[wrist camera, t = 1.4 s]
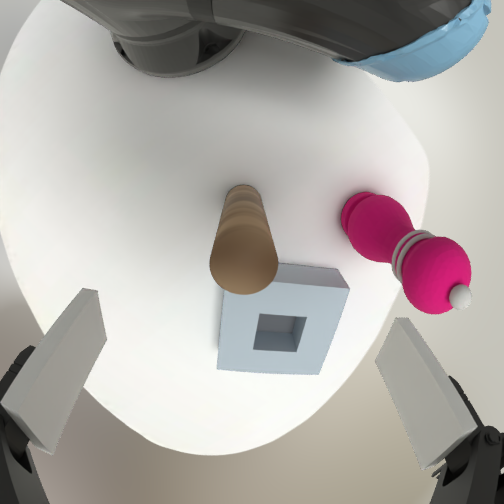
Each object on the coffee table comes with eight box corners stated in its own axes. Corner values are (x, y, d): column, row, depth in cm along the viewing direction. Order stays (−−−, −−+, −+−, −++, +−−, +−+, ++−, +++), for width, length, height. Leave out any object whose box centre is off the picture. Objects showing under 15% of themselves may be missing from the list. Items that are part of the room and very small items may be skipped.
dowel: (227, 182, 31) (212, 228, 16) (263, 186, 31) (283, 237, 16) (223, 216, 33) (207, 291, 17) (258, 220, 33) (272, 297, 18)
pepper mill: (398, 206, 33) (511, 278, 14) (369, 253, 35) (457, 354, 17) (356, 176, 31) (473, 233, 13) (326, 228, 34) (406, 332, 15)
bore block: (227, 257, 35) (225, 276, 30) (337, 269, 36) (350, 288, 31) (218, 345, 40) (216, 369, 35) (312, 351, 41) (318, 374, 36)
